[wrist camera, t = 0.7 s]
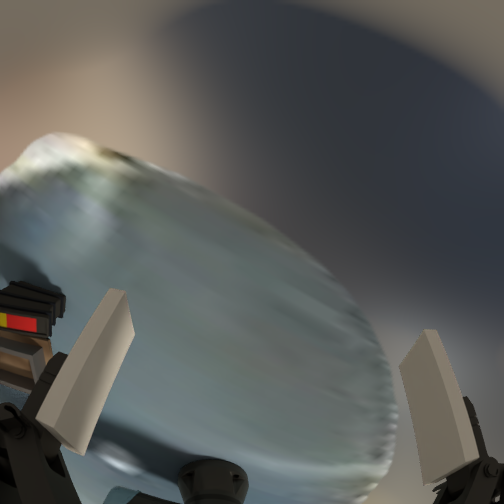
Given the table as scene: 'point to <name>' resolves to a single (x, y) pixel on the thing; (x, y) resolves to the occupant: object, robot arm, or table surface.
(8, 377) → the cradle
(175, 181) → the table surface
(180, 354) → the table surface
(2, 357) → the board
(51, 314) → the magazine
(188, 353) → the table surface
